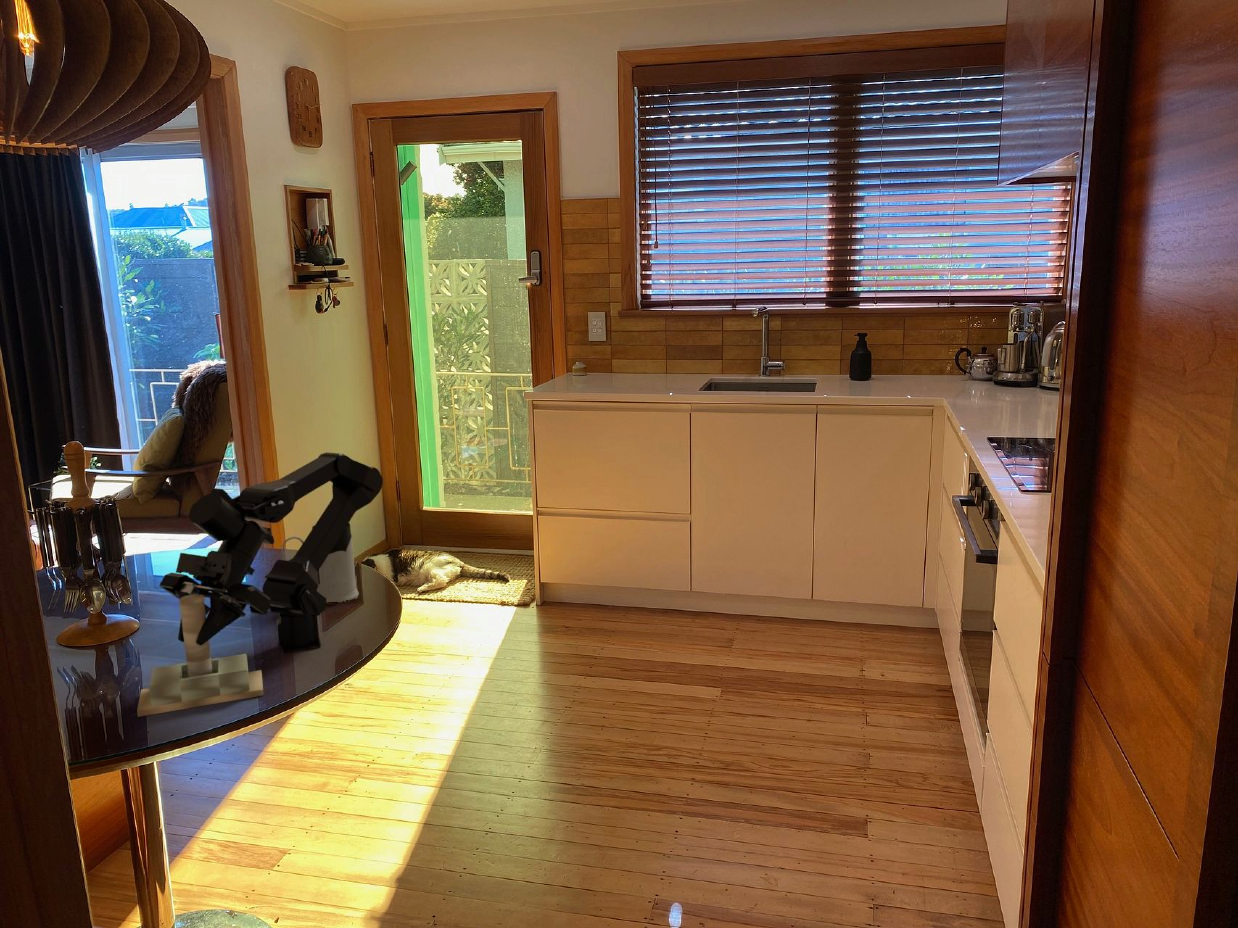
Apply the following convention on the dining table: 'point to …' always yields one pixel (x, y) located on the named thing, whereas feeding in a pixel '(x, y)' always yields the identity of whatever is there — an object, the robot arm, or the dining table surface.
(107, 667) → the dining table surface
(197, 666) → the beige bar
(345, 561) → the glass holder
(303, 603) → the robot arm
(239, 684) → the checkered slab
